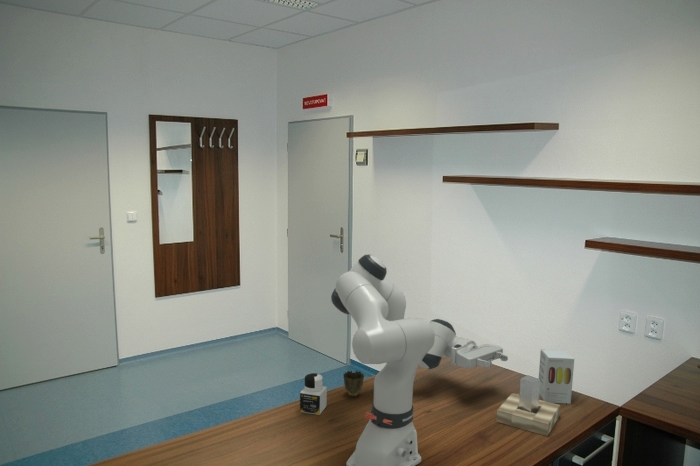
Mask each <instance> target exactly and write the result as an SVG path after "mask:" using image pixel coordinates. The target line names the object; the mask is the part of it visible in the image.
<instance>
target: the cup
mask: <svg viewBox="0 0 700 466" xmlns="http://www.w3.org/2000/svg"><path fill="white" fill-rule="evenodd" d="M364 377H365V374H364V373H363V372H361V371H360V370H359V371H358V370H355V372H353V371H352V370H347V371H345V372H344V373H343V383H344V384H343V385H344V388H345V390H346V391H347V392H348V393H347V394H348V396H349V397H351V398H352V397H353V398H355V397H357V396H358V395H359V394H360V393H359V392H360V391H361V390H362V388H363V385H364Z"/></svg>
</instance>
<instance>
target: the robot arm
mask: <svg viewBox="0 0 700 466" xmlns="http://www.w3.org/2000/svg"><path fill="white" fill-rule="evenodd" d="M387 272H388V270H387V267H386V266H385V263H383V261H382V260H381V259H380V258H379V257H377V256H375V255H372V254H364V255H362V256H361V257H360V258H359V259H358V261H357V262H356V263H355V264H354V265H353V266H352V267H351V268H350V270H348V271H346V272H343V273H342V274H341V275H340V276H339V277H338V278H337V280H336V282H335V288H334V289H333V291H332V293H331V295H330V296H331V299H330V300H331V302H332V305H333V306H334V307H335V308H336V309H337V310H338V312H339V311H340V313H343V314H344V315H350V317H351V318H352V319H353V320H354V322H355V323H356V326H357V330H356V331H355V333H354V335H353V337H352V341H351V346H352V347H351V348H352V352H353V354H354V356H355V358H356V359H357V360H358V361H359V362H360V363H362V364H365V365H381V364H385V365H384V366H383V368H382V369H380V371H378V373H377V374H376V376H375V377H374V381H373V402H372V405H371V407H370V411H366V412H365V414H364V415H365V417H364V419H365V420H369V421H368V422H367V423H366V426H365V427H364V429H363V431H362V433H361V434H360V437H359V438H358V440H357V442H356V444H355V445H356V446H355V450H354V451H353V453H352V454H351V455H350V457H348V459H347V460H346V463H345V465H346V466H416V465H418V464H420V463H421V462H422V456H421V455H420V453H419V452H418V451H419V449H418V433H417V429H416V427H415V425H414V423H413V420H414V415H415V414H414V413H415V411H414V405H413V394H414V393H413V392H414V391H413V390H414V382H415V377H416V374H417V371H418V370H419V367H422V368H424V369H426V370H433V369H436V368H437V367H439V366H440V364H441V360H442V359H443V358H446V359H450V365H451V366H455V367H456V366H457V367H460V368H463V369H464V368H465V369H473V368H475V367H476V368H477V367H486V368H491V367H492V366H493V362H492V361H495V360H499V359H500V361H502V362H507V361H508V359H509V357H508V355H506V354H504V349H503V348H502V347H501V346H499V345H493V344H489V343H485V344H480V345H478V344H477V343H476V342H475V341H474V340H473V339H468V338H465V337H459V336H457V333H456V330H455V328H454V327H453V325H452V324H451V323H450V322H448V321H446V320H443V319H440V318H435V319H432V320H430V321H428V320H426V319H424V318H418V317H417V318H416V317H408V318H405V313H406V307H407V299H406V295H405V294H404V292H403V291H402V289H400V288H399V287H398V286H397V285H395V284H394V283H392V282H391V280H388V279H387V278H386V276H387Z"/></svg>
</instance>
